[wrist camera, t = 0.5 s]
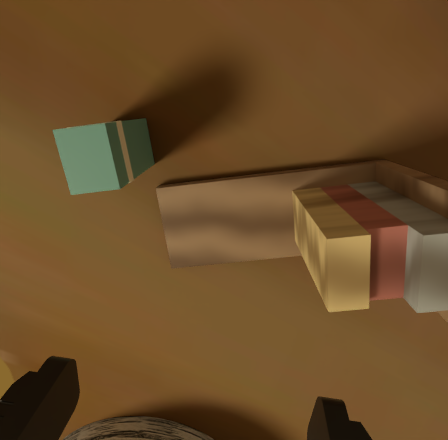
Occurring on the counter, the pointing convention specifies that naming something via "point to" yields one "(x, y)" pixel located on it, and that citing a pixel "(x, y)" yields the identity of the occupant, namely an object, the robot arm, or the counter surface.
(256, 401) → the counter surface
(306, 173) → the book rack
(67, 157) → the teal book
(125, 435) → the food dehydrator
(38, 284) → the counter surface
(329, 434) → the robot arm
